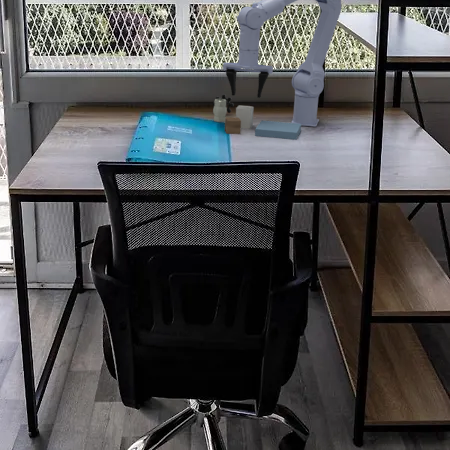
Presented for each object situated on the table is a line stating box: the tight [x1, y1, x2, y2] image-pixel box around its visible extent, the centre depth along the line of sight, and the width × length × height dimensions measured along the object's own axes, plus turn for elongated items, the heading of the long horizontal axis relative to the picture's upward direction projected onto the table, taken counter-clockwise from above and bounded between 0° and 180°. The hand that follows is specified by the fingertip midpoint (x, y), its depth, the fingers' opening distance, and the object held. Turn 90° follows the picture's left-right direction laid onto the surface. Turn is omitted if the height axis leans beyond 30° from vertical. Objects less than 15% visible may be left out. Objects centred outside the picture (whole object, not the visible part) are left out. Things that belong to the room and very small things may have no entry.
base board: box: [254, 120, 302, 140], centre depth 243 cm, size 12×12×2 cm
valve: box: [212, 93, 235, 123], centre depth 258 cm, size 7×7×12 cm
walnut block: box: [224, 116, 241, 135], centre depth 241 cm, size 4×4×4 cm
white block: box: [235, 105, 255, 130], centre depth 248 cm, size 4×4×6 cm
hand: (246, 95), depth 245 cm, fingers open, 7 cm apart
